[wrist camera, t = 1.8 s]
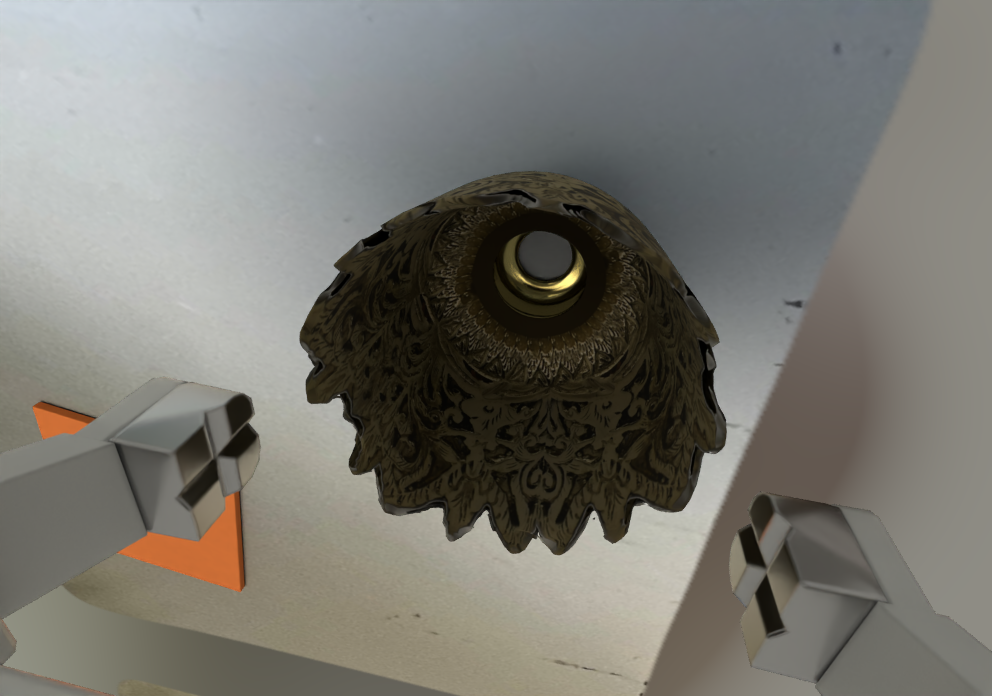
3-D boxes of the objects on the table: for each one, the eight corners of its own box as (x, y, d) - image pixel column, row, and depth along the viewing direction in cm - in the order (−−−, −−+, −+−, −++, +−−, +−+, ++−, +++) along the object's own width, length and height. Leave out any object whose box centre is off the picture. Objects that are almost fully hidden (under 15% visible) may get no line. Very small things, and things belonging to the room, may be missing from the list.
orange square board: (40, 400, 24) (31, 406, 23) (237, 462, 23) (232, 468, 23) (81, 534, 29) (75, 539, 28) (245, 586, 28) (240, 592, 28)
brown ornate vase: (394, 155, 15) (222, 249, 8) (659, 89, 13) (716, 144, 6) (463, 371, 19) (381, 562, 12) (682, 345, 17) (735, 558, 10)
